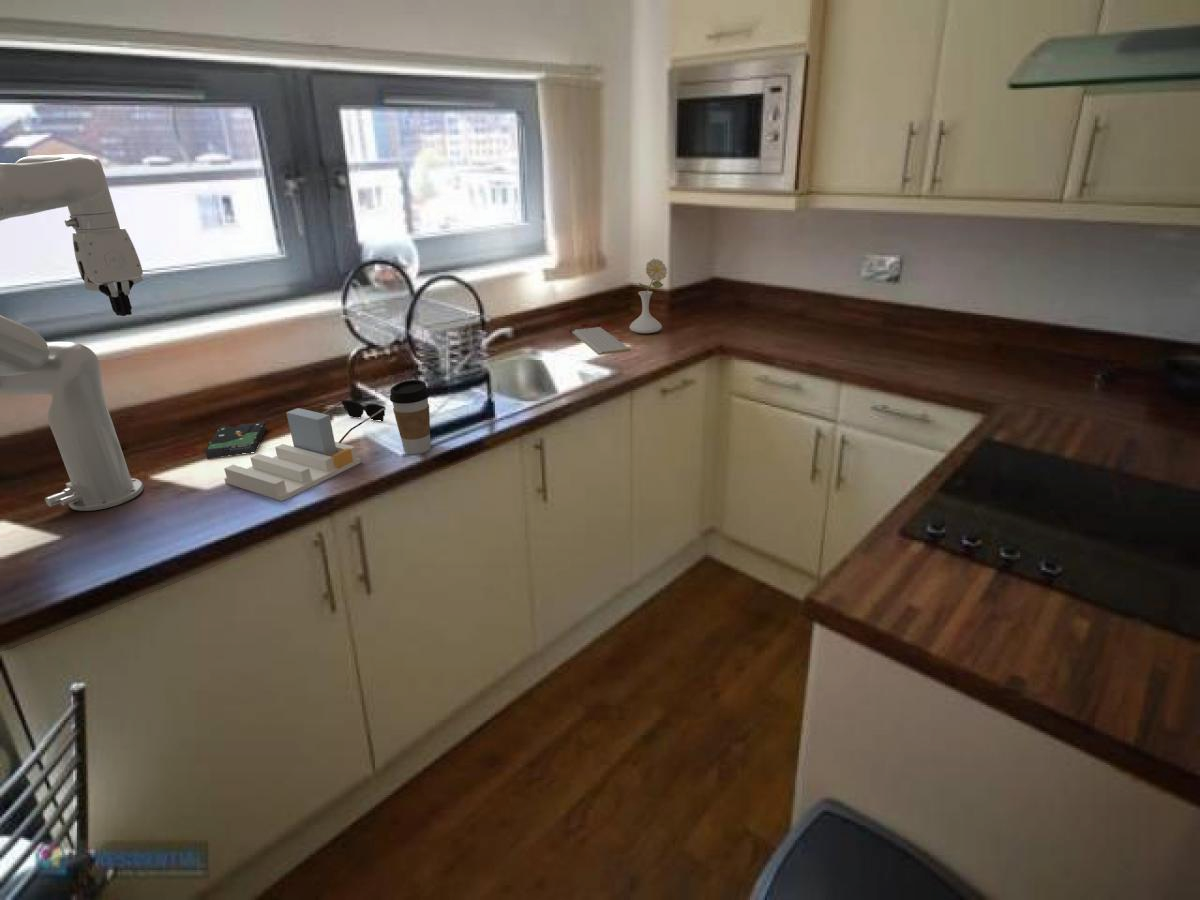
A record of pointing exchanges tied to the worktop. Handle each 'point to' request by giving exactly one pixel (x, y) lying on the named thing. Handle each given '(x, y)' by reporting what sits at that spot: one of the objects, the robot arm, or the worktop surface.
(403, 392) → the coffee cup
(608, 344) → the baseboard
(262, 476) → the rack
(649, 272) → the flower in vase
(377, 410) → the sunglasses
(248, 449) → the disk drive
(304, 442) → the panel
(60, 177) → the robot arm
